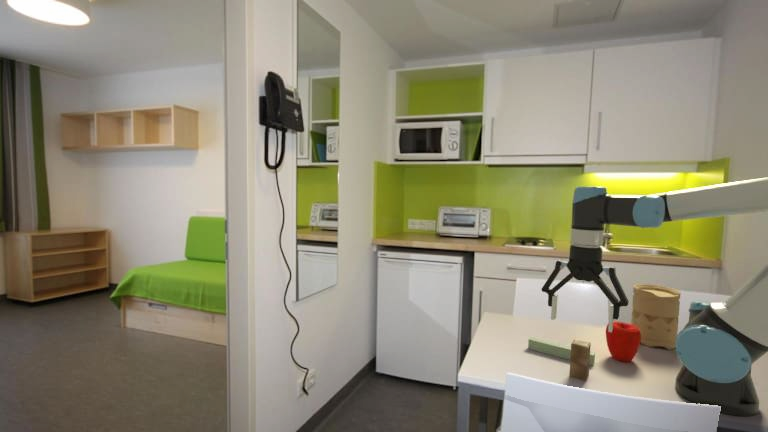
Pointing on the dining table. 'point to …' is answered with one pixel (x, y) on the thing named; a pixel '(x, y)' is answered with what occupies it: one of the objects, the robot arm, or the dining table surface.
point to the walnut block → (580, 360)
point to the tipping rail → (554, 349)
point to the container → (656, 314)
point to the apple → (623, 341)
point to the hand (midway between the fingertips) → (580, 324)
